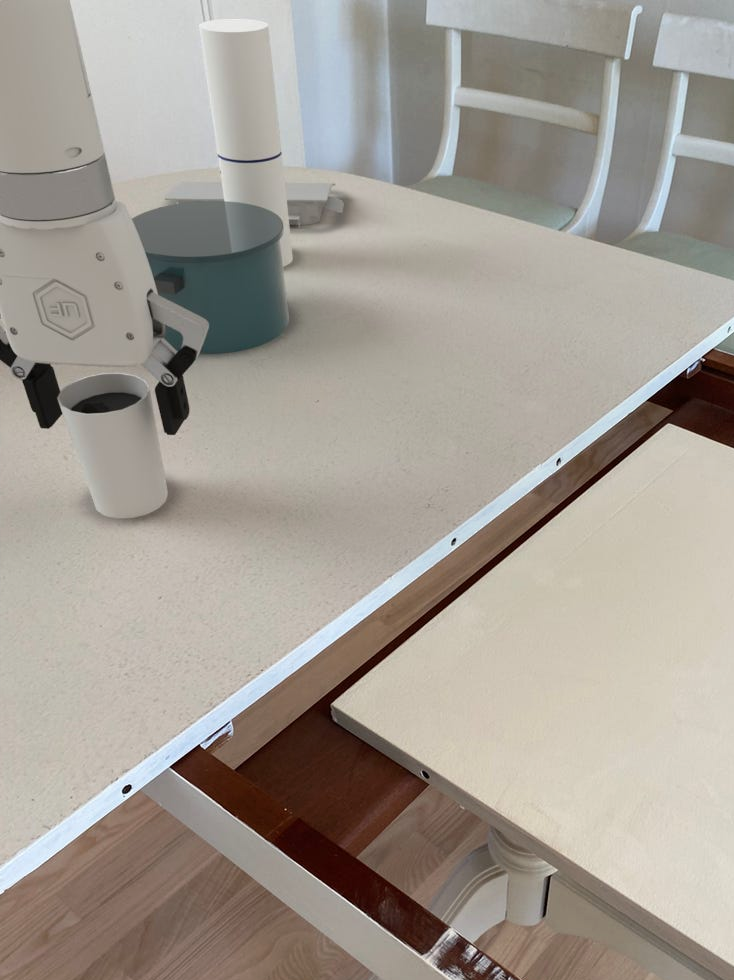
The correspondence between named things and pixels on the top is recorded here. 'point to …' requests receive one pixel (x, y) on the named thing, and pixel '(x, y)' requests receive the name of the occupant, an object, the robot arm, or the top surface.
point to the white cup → (116, 442)
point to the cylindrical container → (246, 116)
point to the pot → (219, 270)
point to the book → (301, 197)
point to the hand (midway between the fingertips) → (114, 423)
